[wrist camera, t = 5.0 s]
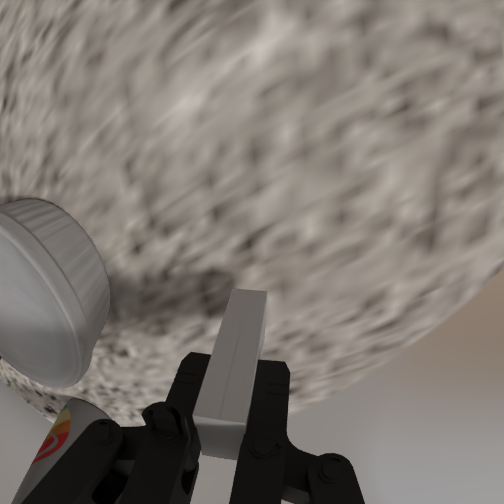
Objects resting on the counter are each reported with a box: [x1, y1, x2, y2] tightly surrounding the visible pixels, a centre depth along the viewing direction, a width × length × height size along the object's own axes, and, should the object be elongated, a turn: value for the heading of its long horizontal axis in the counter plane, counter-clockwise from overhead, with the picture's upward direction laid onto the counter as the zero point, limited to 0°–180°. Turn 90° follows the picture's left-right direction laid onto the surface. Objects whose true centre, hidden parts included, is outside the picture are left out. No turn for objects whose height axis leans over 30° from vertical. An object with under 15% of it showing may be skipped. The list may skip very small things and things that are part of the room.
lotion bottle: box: [11, 399, 111, 504], centre depth 17 cm, size 6×6×20 cm
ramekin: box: [0, 199, 111, 388], centre depth 15 cm, size 11×11×5 cm
